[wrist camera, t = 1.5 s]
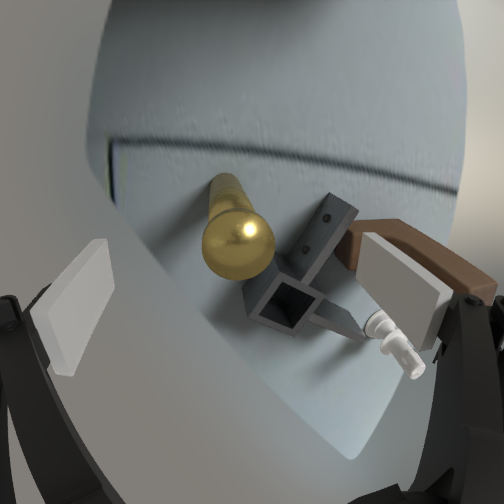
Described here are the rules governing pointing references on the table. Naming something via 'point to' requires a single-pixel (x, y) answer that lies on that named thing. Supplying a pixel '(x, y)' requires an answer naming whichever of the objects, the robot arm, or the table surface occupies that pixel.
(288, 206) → the table surface
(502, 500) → the robot arm
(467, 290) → the wooden block
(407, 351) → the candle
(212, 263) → the hinge pin
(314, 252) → the square tube bracket
